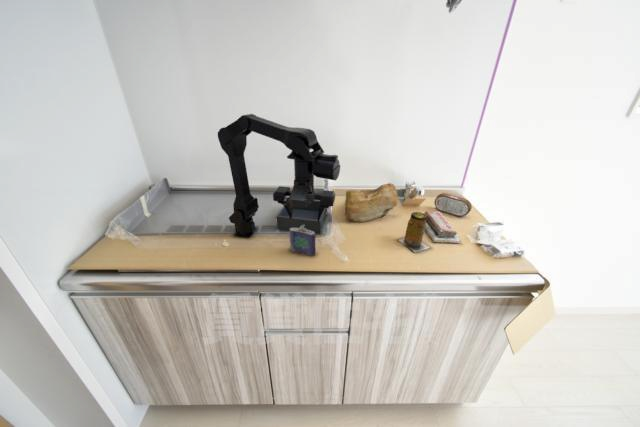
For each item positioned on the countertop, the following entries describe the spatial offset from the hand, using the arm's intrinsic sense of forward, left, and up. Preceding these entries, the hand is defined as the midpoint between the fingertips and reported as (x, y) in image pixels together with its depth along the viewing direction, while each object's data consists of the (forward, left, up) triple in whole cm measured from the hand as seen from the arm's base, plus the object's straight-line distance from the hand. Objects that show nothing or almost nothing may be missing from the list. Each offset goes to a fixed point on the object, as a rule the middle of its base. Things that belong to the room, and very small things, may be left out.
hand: (304, 219), depth 79 cm
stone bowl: (+21, +32, -13) cm, 40 cm away
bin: (-5, +20, -13) cm, 24 cm away
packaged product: (+49, +24, -13) cm, 56 cm away
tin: (+59, +41, -13) cm, 72 cm away
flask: (0, -1, -13) cm, 13 cm away
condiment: (+39, +12, -13) cm, 42 cm away
